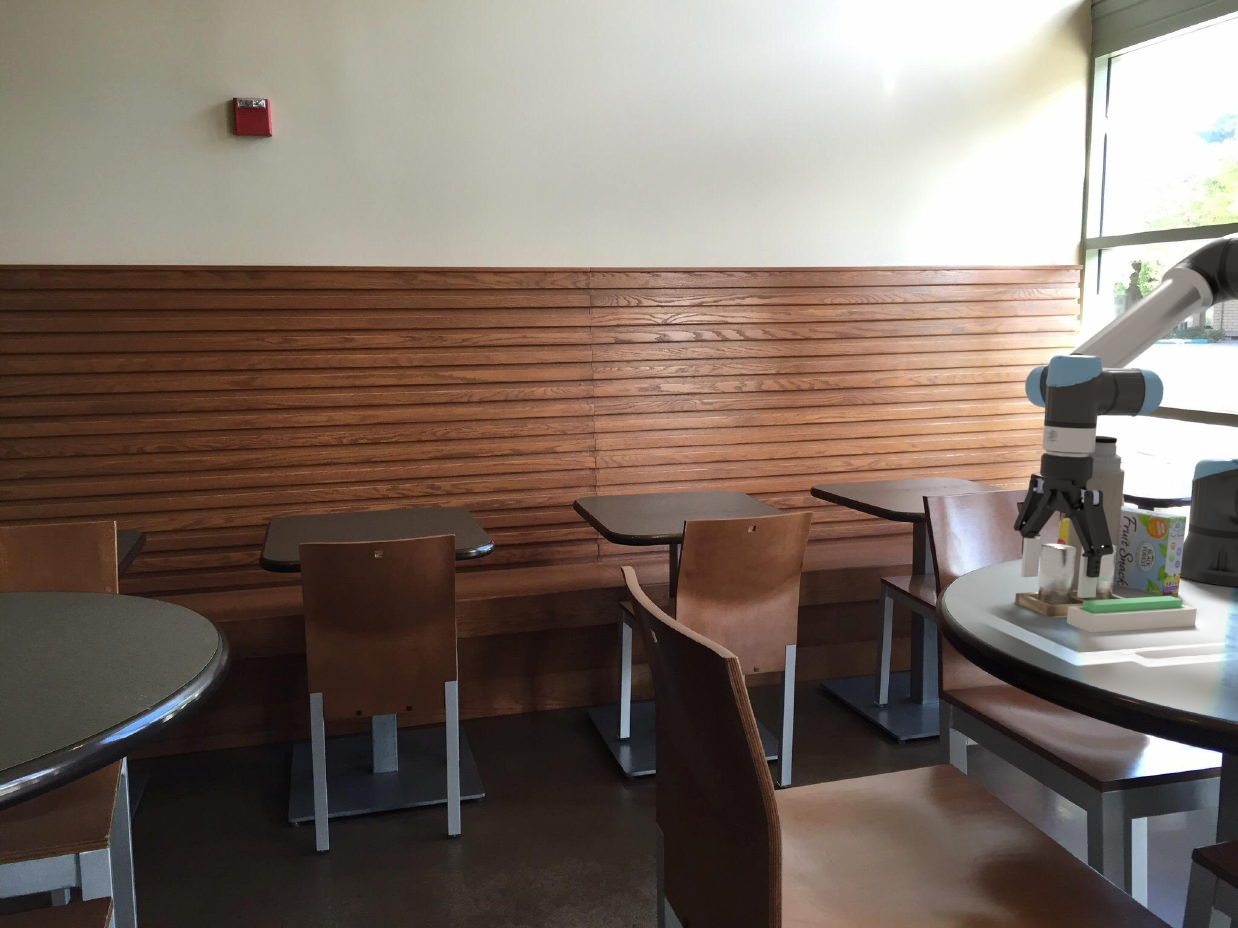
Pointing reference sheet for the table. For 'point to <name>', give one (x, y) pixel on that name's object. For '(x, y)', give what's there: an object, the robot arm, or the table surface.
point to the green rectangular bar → (1132, 604)
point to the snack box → (1145, 549)
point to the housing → (1130, 619)
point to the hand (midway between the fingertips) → (1056, 586)
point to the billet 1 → (1056, 574)
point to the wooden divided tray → (1048, 609)
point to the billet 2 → (1105, 577)
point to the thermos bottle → (1111, 484)
